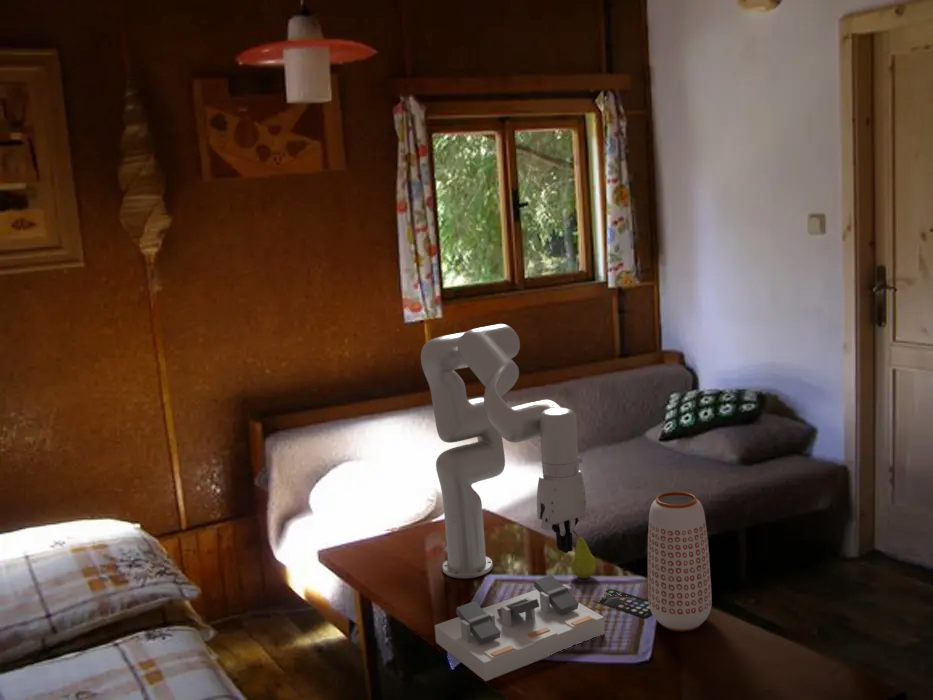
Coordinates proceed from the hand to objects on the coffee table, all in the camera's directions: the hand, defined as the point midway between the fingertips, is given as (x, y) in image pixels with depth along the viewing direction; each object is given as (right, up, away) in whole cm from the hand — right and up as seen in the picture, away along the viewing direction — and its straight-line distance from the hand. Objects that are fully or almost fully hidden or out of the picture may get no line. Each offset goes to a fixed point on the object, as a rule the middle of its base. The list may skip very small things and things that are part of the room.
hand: (564, 550), depth 209 cm
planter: (+25, -17, +4) cm, 31 cm away
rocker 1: (-18, -14, -4) cm, 24 cm away
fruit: (+8, -13, +30) cm, 33 cm away
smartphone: (+16, -16, +15) cm, 27 cm away
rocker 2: (-10, -13, +1) cm, 16 cm away
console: (-9, -19, +3) cm, 22 cm away
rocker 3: (-1, -11, +6) cm, 13 cm away
